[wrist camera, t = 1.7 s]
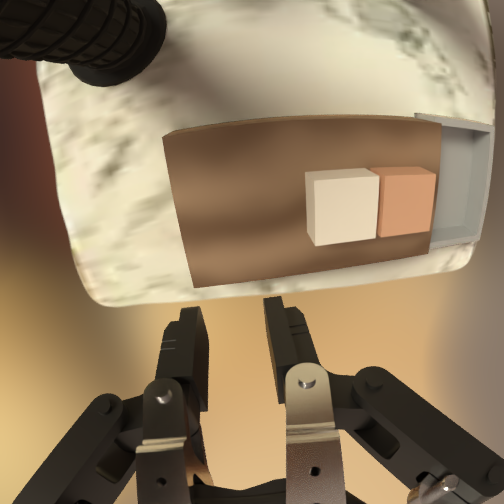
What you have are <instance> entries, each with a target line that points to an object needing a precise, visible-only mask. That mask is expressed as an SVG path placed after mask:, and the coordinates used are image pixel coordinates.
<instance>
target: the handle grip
mask: <svg viewBox="0 0 504 504" xmlns="http://www.w3.org/2000/svg"><path fill="white" fill-rule="evenodd" d="M165 32H166V20H165V14H164V12H163V10H162V7H161V5H160V4H159V3H158V2H157V1H156V0H0V58H2V59H12V58H14V57H15V58H17V59H21V60H26V61H27V60H34V61H42V60H45V61H48V62H53V63H60V64H64V63H66V64H68V65H69V67H70V69H71V70H72V72H73V74H74V75H75V76H76V77H77V78H78V79H80V80H81V81H82V82H84V83H87V84H89V85H92V86H100V87H106V86H113V85H117V84H120V83H122V82H125V81H127V80H129V79H131V78H133V77H134V76H136V75H137V74H139V73H141V72H142V71H143V70H144V69H145V68H146V67H147V66H148V65H149V64H150V63H151V62H152V60H153V59H154V58H155V56H156V55H157V53H158V52H159V50H160V48H161V45H162V43H163V41H164V38H165Z"/></svg>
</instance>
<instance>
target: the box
mask: <svg viewBox="0 0 504 504" xmlns="http://www.w3.org/2000/svg"><path fill="white" fill-rule="evenodd" d="M415 118H418V119H423V120H428V121H433V122H437V123H442V134H441V158H440V173H439V184H438V193H437V202H436V209H435V217H434V223H433V230H432V235H431V241H430V247H429V249H434V248H440V247H446V246H452V245H457V244H463V243H468V242H474V241H479V240H480V235H481V231H482V227H483V222H484V217H485V212H486V206H487V200H488V194H489V187H490V180H491V171H492V161H493V149H494V129H495V126H492V125H489V124H485V123H481V122H477V121H472V120H467V119H460V118H454V117H447V116H439V115H431V114H422V113H415Z"/></svg>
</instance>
